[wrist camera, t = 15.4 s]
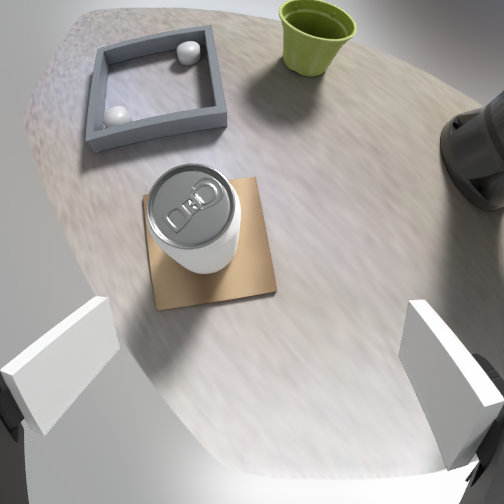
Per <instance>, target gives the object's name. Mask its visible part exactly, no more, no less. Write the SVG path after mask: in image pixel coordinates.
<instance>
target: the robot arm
mask: <svg viewBox="0 0 504 504" xmlns="http://www.w3.org/2000/svg"><path fill="white" fill-rule="evenodd" d="M441 149H442V154H443V158H444V161H445V164H446V167H447V169H448V171H449V173H450V175H451V177H452V179H453V181H454V183H455V184H456V186H457V187H458V189H459V190H460V191H461V193H462V194H463V195H464V196H465V197H466V198H467V199H468V200H469V201H470V202H471V203H472V204H473V205H475V206H476V207H478V208H480V209H482V210H485V211H495V210H497V209H499V208H502V207H504V91H503V92H502V93H501V94H499V95H498V96H497V97H496V98H495V99H494V100H493V101H492V102H490V103H489V104H488V105H487V106H485V107H483V108H479V109H476V110H472V111H469V112H465V113H462V114H458V115H456V116H455V117H453V118H452V119H451V120H450V121H449V122H448V123H447V124H446V125H445V126H444V128H443V130H442V133H441ZM119 349H120V346H119V342H118V338H117V334H116V330H115V326H114V322H113V317H112V313H111V309H110V304H109V299H108V297H97V296H95V297H94V298H93V299H91V300H90V301H88V302H87V303H86V304H84V305H83V306H82V307H80V308H79V309H78V310H77V311H75V312H73V313H72V314H71V315H69V316H68V317H67V318H66V319H64V320H63V321H62V322H60V323H59V324H58V325H56V326H55V327H54V328H52V329H51V330H50V331H48V332H47V333H46V334H44V335H43V336H42V337H41V338H39V339H38V340H37V341H35V342H34V343H33V344H32V345H30V346H29V347H28V348H27V349H25V350H24V351H23V352H22V353H20V354H19V355H18V356H17V357H15V358H14V359H13V360H12V361H10V362H9V363H8V364H7V365H6V366H4V367H3V368H2V369H1V370H0V504H29V501H28V493H27V484H26V472H25V456H24V429H23V426H22V424H21V421H22V420H23V419H24V418H25V420H26V422H27V423H28V425H29V427H30V428H31V430H33V431H35V432H37V433H39V434H41V435H43V436H45V435H46V434H47V433H48V431H49V430H50V429H51V427H53V425H54V424H55V423H56V422H57V420H58V419H59V418H60V417H61V416H62V415H63V413H64V412H65V411H66V410H67V409H68V408H69V406H70V405H71V404H72V403H73V402H74V400H75V399H76V398H77V397H78V396H79V394H80V393H81V392H82V391H83V390H84V389H85V388H86V386H87V385H88V384H89V383H90V382H91V381H92V380H93V378H94V377H95V376H96V375H97V374H98V373H99V372H100V370H101V369H102V368H103V367H104V366H105V365H106V364H107V362H108V361H109V360H110V359H111V358H112V357H113V356H114V355H115V353H116V352H117V351H118V350H119ZM398 357H399V359H400V361H401V363H402V365H403V367H404V369H405V371H406V373H407V376H408V378H409V380H410V382H411V384H412V386H413V388H414V391H415V393H416V395H417V397H418V400H419V402H420V404H421V406H422V409H423V411H424V413H425V415H426V418H427V420H428V423H429V425H430V427H431V430H432V432H433V435H434V437H435V439H436V442H437V444H438V447H439V450H440V452H441V455H442V457H443V460H444V463H445V465H446V468H447V470H448V471H449V470H452V469H456V468H459V467H462V466H465V465H468V464H469V462H470V461H471V459H472V458H473V456H474V455H475V453H476V454H477V456H478V458H479V462H478V464H477V465H476V467H475V468H474V469H473V471H472V472H471V473H470V475H469V476H468V477H467V479H466V481H467V482H468V481H469V480H470V481H469V484H468V486H467V488H466V490H465V493H464V495H463V497H462V499H461V501H460V503H459V504H504V380H503V379H502V378H500V375H499V374H498V373H497V372H496V371H494V368H493V367H492V365H491V364H490V363H489V362H488V360H486V359H485V358H483V357H482V356H480V355H478V354H477V353H476V354H470V352H469V351H468V350H467V349H466V348H465V346H464V345H463V344H462V343H461V341H460V340H459V339H458V338H457V337H456V335H455V334H454V333H453V332H452V331H451V329H450V328H449V327H448V326H447V325H446V323H445V322H444V321H443V320H442V319H441V318H440V316H439V315H438V314H437V313H436V312H435V311H434V310H433V309H432V307H431V306H430V305H429V304H428V303H427V302H426V301H425V300H409V301H408V307H407V313H406V319H405V325H404V330H403V335H402V340H401V345H400V350H399V355H398ZM470 478H471V479H470Z"/></svg>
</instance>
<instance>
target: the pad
mask: <svg viewBox="0 0 504 504" xmlns="http://www.w3.org/2000/svg"><path fill="white" fill-rule="evenodd" d="M229 182H230V184H231V185H232V186H233V188H234V189H235V191H236V193H237V195H238V198H239V201H240V206H241V222H240V231H239V238H238V245H237V249H236V252H235V255H234V257H233V258H232V260H231V261H230V262H229V264H228V265H226V266H225V267H224V268H223V269H221V270H219V271H217V272H214V273H210V274H199V273H195V272H192V271H190V270H188V269H186V268H185V267H183V266H182V265H181V264H179V263H178V262H177V261H175V260H174V259H173V258H172V257H170V256H169V255H168V254H167V253H165V252H164V251H163V250H162V249H161V248H160V247H159V246H158V245H157V244H156V242H155V241H154V239H153V238H152V236H151V234H150V232H149V229H148V225H147V217H146V204H147V198H148V195H149V194H148V195H143V199H144V212H145V223H146V233H147V243H148V252H149V260H150V268H151V275H152V283H153V290H154V296H155V303H156V309H157V311H159V310H166V309H173V308H179V307H186V306H192V305H199V304H205V303H211V302H218V301H224V300H230V299H236V298H241V297H247V296H253V295H259V294H264V293H270V292H275V291H277V286H276V281H275V275H274V270H273V264H272V259H271V254H270V248H269V243H268V238H267V233H266V227H265V222H264V217H263V212H262V207H261V201H260V196H259V191H258V186H257V181H256V177H250V178H242V179H235V180H229Z"/></svg>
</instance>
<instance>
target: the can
mask: <svg viewBox="0 0 504 504" xmlns="http://www.w3.org/2000/svg"><path fill="white" fill-rule="evenodd" d="M146 217H147V225H148V229H149V232H150V234H151V236H152V238H153V239H154V241H155V242H156V244H157V245H158V246H159V247H160V248H161V249H162V250H163V251H164V252H165V253H167V254H168V255H169V256H170V257H172V258H173V259H174V260H175V261H177V262H178V263H179V264H181V265H182V266H183V267H185V268H186V269H188V270H190V271H192V272H195V273H199V274H210V273H214V272H217V271H219V270H221V269H223V268H224V267H225V266H226V265H228V264H229V262H230V261H231V260H232V258H233V257H234V255H235V252H236V249H237V245H238V238H239V231H240V222H241V206H240V201H239V198H238V195H237V193H236V191H235V189H234V188H233V186H232V185H231V184H230V182H229V181H228V180H227V179H226V178H225V177H224V176H223V175H222V174H221V173H220V172H218V171H217V170H215V169H214V168H212V167H209V166H206V165H202V164H184V165H180V166H177V167H174V168H172V169H170V170H168V171H167V172H165V173H164V174H163V175H162V176H161V177H160V178H159V179H158V180H157V181H156V182H155V183H154V185H153V186H152V188H151V190H150V192H149V195H148V198H147V204H146Z"/></svg>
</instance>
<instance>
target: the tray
mask: <svg viewBox="0 0 504 504" xmlns="http://www.w3.org/2000/svg"><path fill="white" fill-rule="evenodd" d="M201 45H206V51H207V57H208V64H209V71H210V77H211V84H212V90H213V97H214V103H215V106H213V107H206V108H200V109H193V110H187V111H182V112H176V113H171V114H165V115H160V116H155V117H151V118H146V119H141V120H137V121H133V122H131V119H130V117H129V115H128V113H127V111H126V109H125V108H124V107H122V106H115V107H112V108H110V109H109V110H108V111H107V112H106V113H105V114H104V109H105V97H106V87H107V78H108V70H109V65H110V64H114V63H117V62H121V61H125V60H129V59H133V58H137V57H141V56H145V55H150V54H155V53H160V52H165V51H170V50H175V49H177V54H178V60H179V62H180V63H181V64H183V65H193V64H195V63H197V62H198V61H199V60H200V58H201V56H200V46H201ZM103 123H104V124H105V126H106V127H107V128H105V129H103ZM220 127H227V109H226V103H225V98H224V92H223V87H222V81H221V75H220V70H219V64H218V59H217V53H216V48H215V42H214V36H213V31H212V25H209V26H201V27H193V28H187V29H180V30H174V31H169V32H163V33H158V34H154V35H149V36H144V37H140V38H136V39H132V40H128V41H124V42H120V43H117V44H113V45H110V46H106V47H103V48H100V49H97V54H96V60H95V65H94V71H93V77H92V84H91V91H90V98H89V106H88V116H87V126H86V138H85V142H86V143H87V144H88V145H89V146H90V148H91V149H92V150H93V151H94V152H95V153H96V152H100V151H104V150H108V149H112V148H116V147H120V146H124V145H128V144H132V143H137V142H141V141H146V140H151V139H156V138H161V137H166V136H171V135H176V134H182V133H188V132H194V131H200V130H206V129H213V128H220Z"/></svg>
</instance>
